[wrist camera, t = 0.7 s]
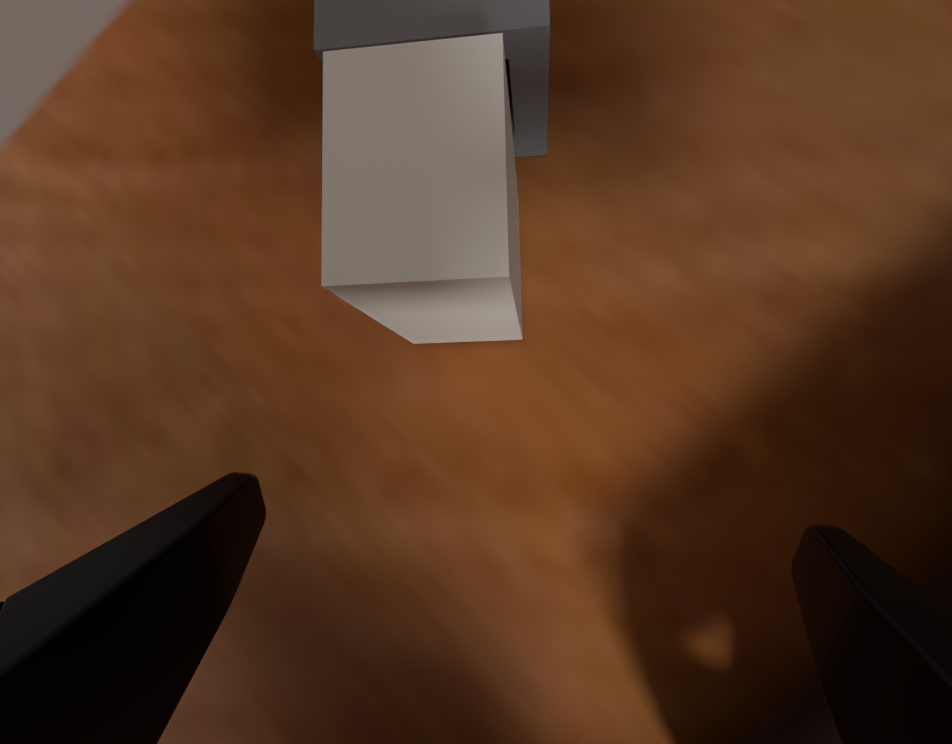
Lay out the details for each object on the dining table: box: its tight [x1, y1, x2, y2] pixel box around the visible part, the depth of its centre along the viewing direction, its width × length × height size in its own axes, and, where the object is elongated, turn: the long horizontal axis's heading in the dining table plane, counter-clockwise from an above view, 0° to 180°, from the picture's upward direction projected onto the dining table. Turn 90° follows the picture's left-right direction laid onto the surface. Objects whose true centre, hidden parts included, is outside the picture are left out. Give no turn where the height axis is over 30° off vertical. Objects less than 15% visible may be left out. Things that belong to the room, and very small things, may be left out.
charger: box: [321, 33, 523, 344], centre depth 18 cm, size 10×4×10 cm, turn 1°
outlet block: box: [314, 0, 550, 157], centre depth 20 cm, size 4×7×8 cm, turn 91°
